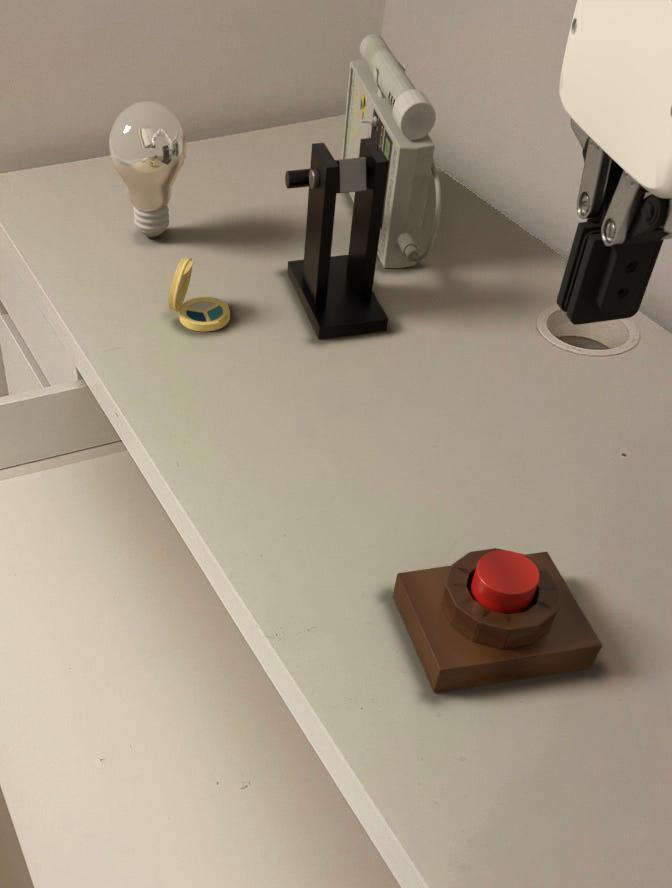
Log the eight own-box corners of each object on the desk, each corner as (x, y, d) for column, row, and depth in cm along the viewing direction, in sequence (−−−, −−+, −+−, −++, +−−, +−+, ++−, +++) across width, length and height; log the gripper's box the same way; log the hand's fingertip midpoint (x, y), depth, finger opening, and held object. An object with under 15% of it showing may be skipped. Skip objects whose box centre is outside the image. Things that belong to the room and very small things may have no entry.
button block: (538, 574, 64) (554, 530, 61) (592, 668, 59) (612, 624, 56) (392, 596, 63) (400, 552, 60) (433, 693, 58) (445, 650, 55)
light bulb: (153, 262, 91) (146, 127, 82) (101, 238, 94) (89, 106, 85) (203, 234, 94) (201, 101, 85) (151, 211, 97) (144, 81, 88)
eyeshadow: (222, 334, 83) (222, 281, 79) (166, 326, 84) (163, 272, 80) (235, 307, 86) (236, 254, 82) (181, 299, 87) (180, 246, 83)
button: (518, 566, 60) (525, 545, 58) (542, 609, 57) (550, 589, 56) (461, 574, 59) (467, 554, 58) (483, 618, 57) (490, 598, 56)
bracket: (287, 273, 89) (295, 127, 80) (350, 266, 90) (366, 120, 80) (318, 339, 82) (331, 187, 72) (386, 331, 83) (409, 179, 73)
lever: (285, 194, 88) (284, 165, 87) (339, 188, 88) (338, 159, 87) (322, 195, 77) (321, 161, 76) (383, 188, 77) (383, 155, 76)
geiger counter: (341, 22, 92) (408, 135, 75) (408, 18, 92) (489, 129, 76) (329, 173, 102) (386, 300, 86) (389, 168, 102) (456, 294, 86)
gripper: (1051, -175, 26) (761, 399, 40) (747, -267, 35) (600, 223, 49) (789, -153, 25) (588, 423, 39) (551, -252, 35) (458, 240, 49)
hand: (595, 311), depth 44 cm, fingers closed
